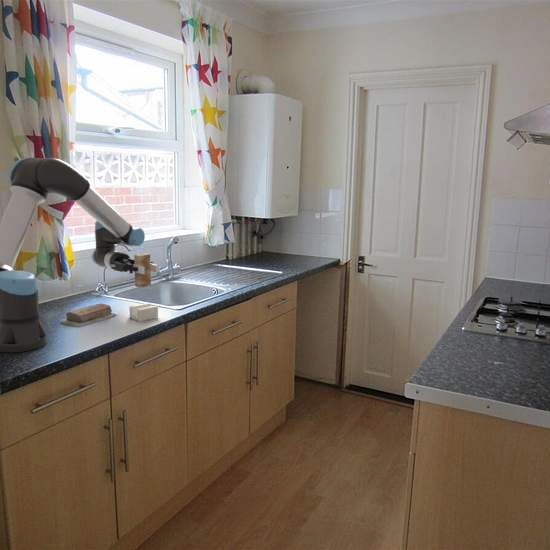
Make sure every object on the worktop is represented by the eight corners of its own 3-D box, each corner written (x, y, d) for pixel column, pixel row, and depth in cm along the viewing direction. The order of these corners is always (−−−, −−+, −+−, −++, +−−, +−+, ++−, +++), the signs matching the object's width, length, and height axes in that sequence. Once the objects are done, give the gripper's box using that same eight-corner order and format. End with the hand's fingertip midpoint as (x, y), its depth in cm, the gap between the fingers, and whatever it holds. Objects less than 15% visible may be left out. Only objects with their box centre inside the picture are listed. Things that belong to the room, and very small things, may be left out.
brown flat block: (97, 301, 206) (115, 304, 202) (97, 313, 207) (116, 317, 202) (59, 311, 191) (77, 315, 186) (59, 324, 192) (78, 328, 187)
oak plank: (139, 287, 195) (138, 255, 193) (135, 286, 197) (134, 254, 195) (151, 285, 199) (150, 254, 197) (146, 284, 201) (145, 253, 199)
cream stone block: (139, 321, 195) (139, 309, 194) (129, 317, 200) (129, 306, 199) (158, 317, 201) (157, 306, 200) (147, 313, 206) (147, 302, 205)
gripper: (138, 267, 216) (170, 276, 200) (97, 273, 203) (129, 282, 188) (137, 249, 215) (170, 257, 199) (96, 254, 202) (128, 262, 186)
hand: (150, 269), depth 193 cm, fingers closed on oak plank, 5 cm apart
